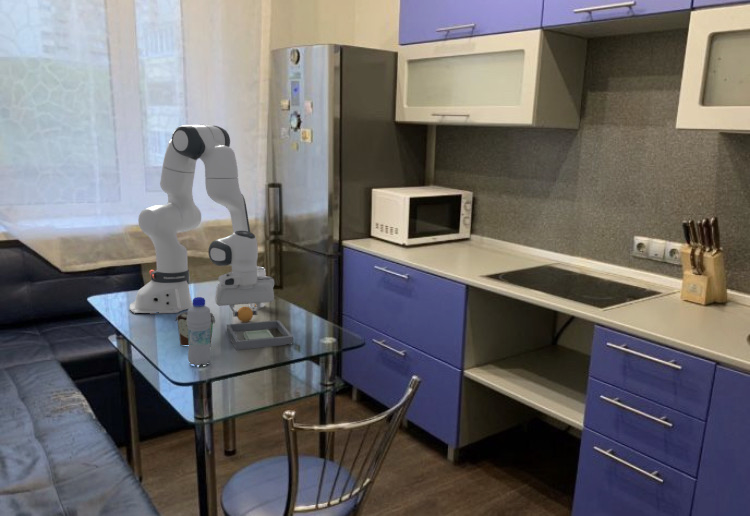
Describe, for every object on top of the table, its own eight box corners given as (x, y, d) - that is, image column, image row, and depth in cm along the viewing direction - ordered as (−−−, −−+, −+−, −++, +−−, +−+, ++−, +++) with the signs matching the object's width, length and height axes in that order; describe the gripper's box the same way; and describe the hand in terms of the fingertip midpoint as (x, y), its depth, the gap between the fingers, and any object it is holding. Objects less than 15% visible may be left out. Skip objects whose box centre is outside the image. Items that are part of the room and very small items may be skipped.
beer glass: (261, 309, 224) (261, 271, 221) (244, 307, 225) (244, 269, 222) (268, 304, 230) (268, 267, 227) (251, 303, 232) (251, 266, 229)
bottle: (202, 358, 173) (201, 293, 169) (216, 364, 169) (215, 297, 165) (182, 364, 168) (181, 297, 164) (196, 371, 164) (195, 302, 160)
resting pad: (247, 343, 187) (247, 340, 187) (242, 334, 195) (242, 331, 195) (275, 340, 190) (275, 337, 190) (269, 332, 198) (269, 328, 198)
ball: (238, 324, 205) (238, 309, 204) (235, 320, 210) (235, 305, 209) (254, 323, 207) (254, 308, 206) (251, 318, 212) (251, 304, 211)
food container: (221, 341, 188) (221, 311, 186) (214, 348, 182) (213, 317, 180) (184, 338, 189) (183, 309, 187) (176, 345, 183) (175, 314, 181)
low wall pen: (236, 349, 181) (236, 342, 180) (226, 331, 197) (226, 324, 197) (293, 344, 188) (293, 336, 188) (279, 327, 204) (279, 320, 204)
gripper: (272, 274, 212) (271, 310, 215) (214, 277, 204) (214, 315, 207) (276, 278, 206) (276, 315, 209) (216, 281, 198) (217, 320, 201)
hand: (244, 315), depth 208 cm, fingers closed on ball, 5 cm apart
